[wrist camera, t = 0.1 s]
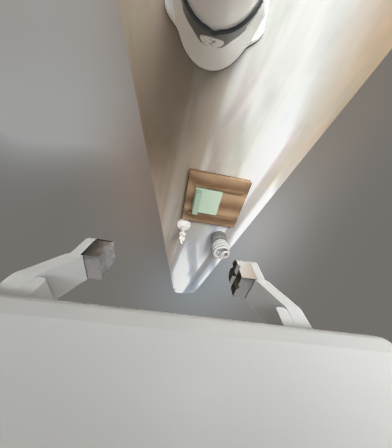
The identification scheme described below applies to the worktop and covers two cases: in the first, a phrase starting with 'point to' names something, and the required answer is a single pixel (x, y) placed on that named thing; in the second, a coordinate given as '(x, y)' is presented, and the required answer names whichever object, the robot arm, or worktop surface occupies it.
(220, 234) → the light bulb
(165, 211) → the worktop surface
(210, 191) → the cover
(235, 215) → the board
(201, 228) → the worktop surface
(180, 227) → the chess piece
